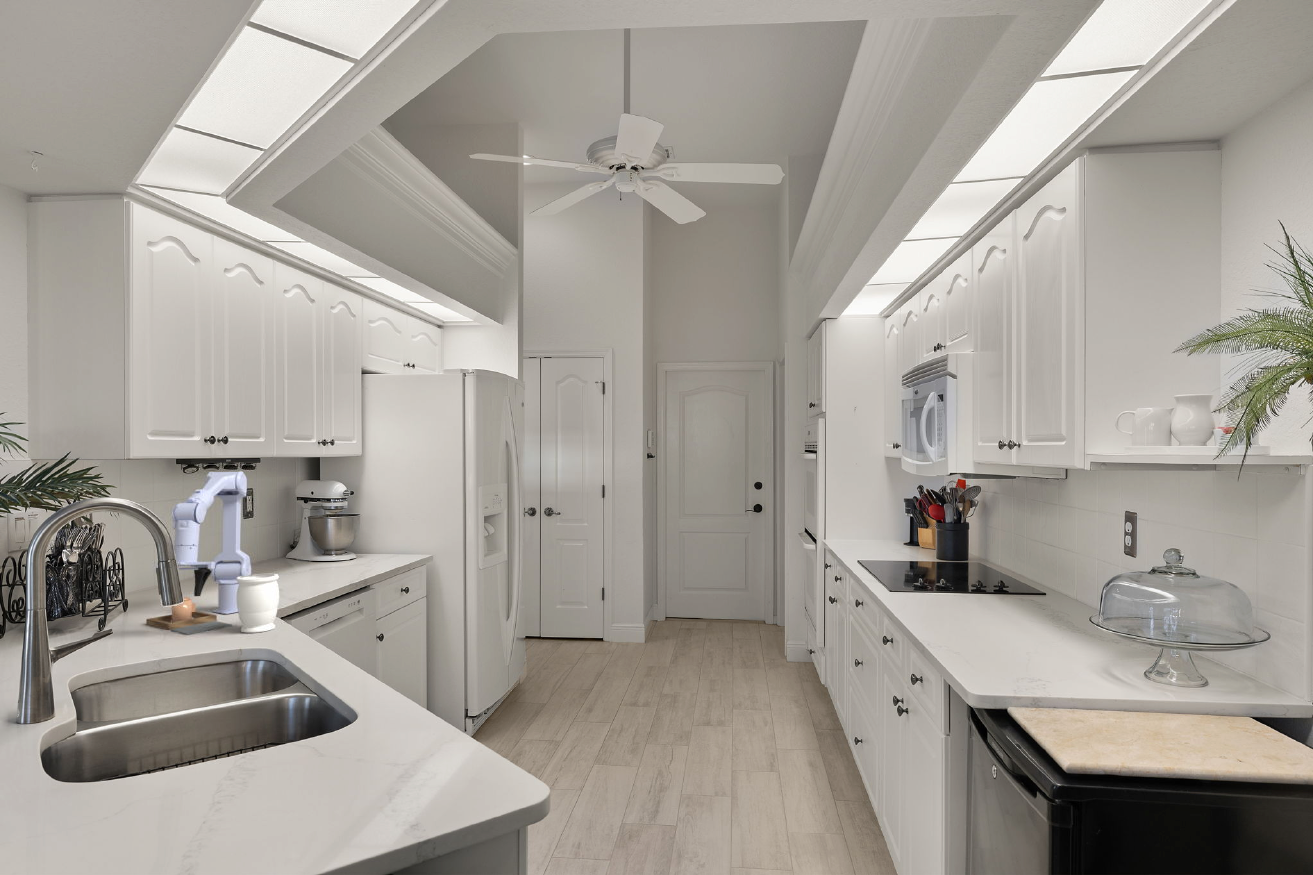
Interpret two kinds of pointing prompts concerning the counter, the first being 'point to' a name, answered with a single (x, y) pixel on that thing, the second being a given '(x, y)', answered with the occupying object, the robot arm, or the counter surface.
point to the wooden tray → (199, 618)
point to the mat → (201, 627)
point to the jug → (183, 610)
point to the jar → (257, 602)
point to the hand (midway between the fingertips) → (182, 596)
